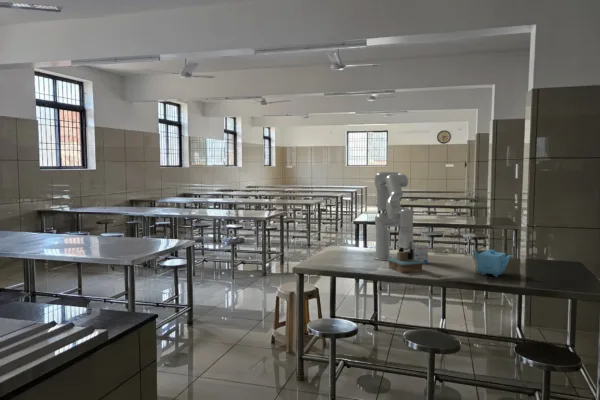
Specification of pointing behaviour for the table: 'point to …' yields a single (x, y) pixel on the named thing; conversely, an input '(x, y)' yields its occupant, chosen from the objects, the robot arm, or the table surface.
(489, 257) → the teakettle
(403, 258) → the lid
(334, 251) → the table surface
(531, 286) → the table surface
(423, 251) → the ink box
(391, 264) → the box
